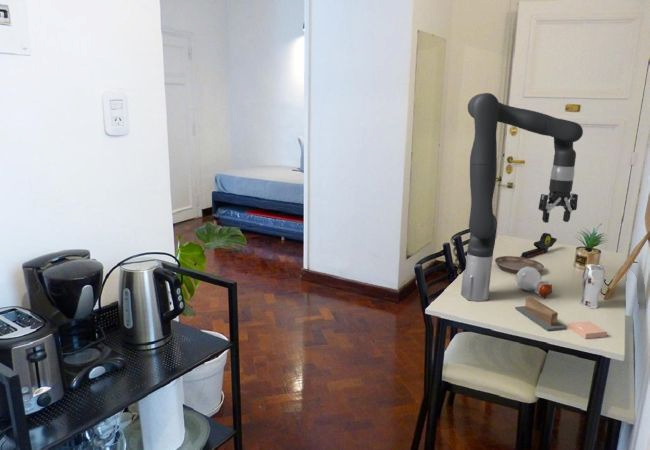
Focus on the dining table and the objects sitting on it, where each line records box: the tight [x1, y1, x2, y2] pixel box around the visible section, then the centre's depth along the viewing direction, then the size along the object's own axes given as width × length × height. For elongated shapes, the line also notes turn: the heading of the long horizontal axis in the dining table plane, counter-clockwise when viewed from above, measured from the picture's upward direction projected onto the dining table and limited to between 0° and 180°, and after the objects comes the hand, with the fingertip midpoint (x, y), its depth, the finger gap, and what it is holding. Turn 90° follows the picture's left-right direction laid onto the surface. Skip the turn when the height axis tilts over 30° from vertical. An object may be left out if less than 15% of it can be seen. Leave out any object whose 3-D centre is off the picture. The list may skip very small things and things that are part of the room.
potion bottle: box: [514, 267, 553, 299], centre depth 196 cm, size 9×10×15 cm
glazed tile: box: [567, 320, 608, 340], centre depth 163 cm, size 8×2×8 cm
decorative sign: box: [520, 232, 558, 259], centre depth 245 cm, size 27×2×10 cm, turn 127°
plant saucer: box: [494, 255, 545, 275], centre depth 223 cm, size 21×21×3 cm
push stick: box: [524, 296, 559, 326], centre depth 172 cm, size 2×14×4 cm, turn 14°
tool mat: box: [514, 305, 567, 332], centre depth 172 cm, size 7×18×1 cm, turn 13°
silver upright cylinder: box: [579, 263, 606, 310], centre depth 183 cm, size 7×7×15 cm
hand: (555, 221), depth 183 cm, fingers open, 8 cm apart
